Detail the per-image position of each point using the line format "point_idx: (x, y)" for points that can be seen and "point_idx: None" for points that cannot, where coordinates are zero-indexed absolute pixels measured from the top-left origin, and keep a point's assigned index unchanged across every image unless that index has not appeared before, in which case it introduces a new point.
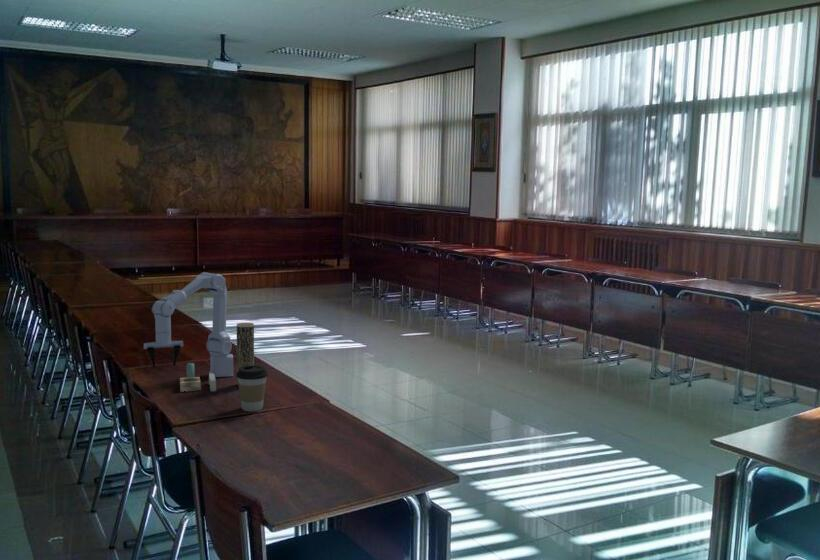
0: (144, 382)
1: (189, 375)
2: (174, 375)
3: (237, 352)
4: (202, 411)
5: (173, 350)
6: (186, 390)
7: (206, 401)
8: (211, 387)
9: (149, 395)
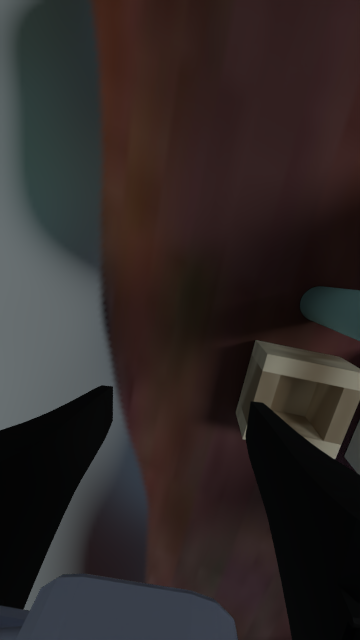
0: (124, 198)
1: (331, 328)
2: (294, 103)
3: None
4: (238, 613)
5: (306, 555)
6: None
7: None
8: (358, 470)
9: (120, 406)
